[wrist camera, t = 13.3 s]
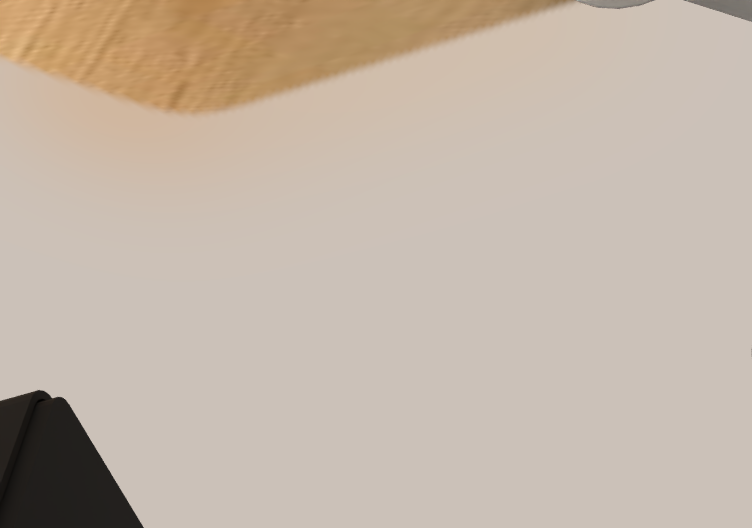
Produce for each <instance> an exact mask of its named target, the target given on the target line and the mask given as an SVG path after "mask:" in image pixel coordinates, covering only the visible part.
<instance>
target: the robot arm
mask: <svg viewBox="0 0 752 528" xmlns="http://www.w3.org/2000/svg"><path fill="white" fill-rule="evenodd" d="M576 1H578V2H581V3H584V4H587V5H590V6H593V7H599V8H617V9H620V8H626V7H633V6H639V5H642V4H645V3H648V2H650V1H653V0H576ZM685 1H688V2H692V3H694V4H698V5H701V6H704V7H707V8H710V9H713V10H717V11H720V12H723V13H727V14H729V15H732V16H736V17H739V18H742V19H745V20H748V21H752V0H685ZM0 528H144V527H143V526H142V524H141V523H140V521H139V519H138V518H137V516H136V514H135V513H134V511H133V509H132V508H131V506H130V504H129V503H128V501H127V499H126V498H125V496H124V494H123V493H122V491H121V489H120V488H119V486H118V484H117V483H116V481H115V480H114V478H113V476H112V475H111V473H110V471H109V470H108V468H107V466H106V465H105V463H104V461H103V460H102V458H101V456H100V455H99V453H98V452H97V450H96V448H95V446H94V445H93V443H92V442H91V440H90V438H89V437H88V435H87V433H86V432H85V430H84V428H83V427H82V425H81V423H80V422H79V420H78V418H77V417H76V415H75V413H74V412H73V410H72V408H71V407H70V405H69V404H68V403H67V401H66V400H65V399H64V398H62V397H56V398H51V396H50V395H49V394H48V393H46V392H45V391H40V390H38V391H35V392H31V393H27V394H24V395H20V396H17V397H13V398H9V399H6V400H2V401H0Z"/></svg>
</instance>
